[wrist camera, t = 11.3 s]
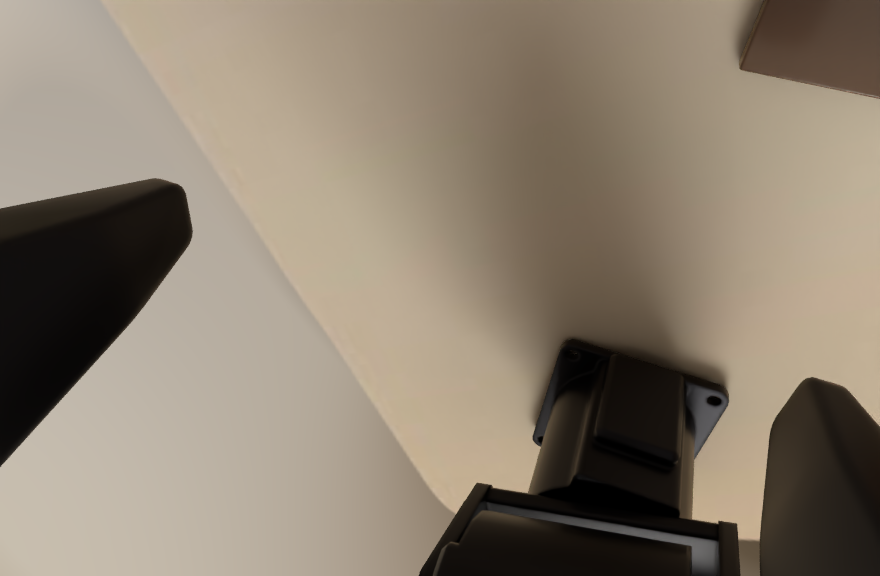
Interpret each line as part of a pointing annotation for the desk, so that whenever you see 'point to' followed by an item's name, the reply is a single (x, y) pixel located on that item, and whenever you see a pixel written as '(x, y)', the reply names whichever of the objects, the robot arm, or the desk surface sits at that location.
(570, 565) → the robot arm
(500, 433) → the desk surface
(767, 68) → the walnut ruler
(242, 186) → the desk surface
